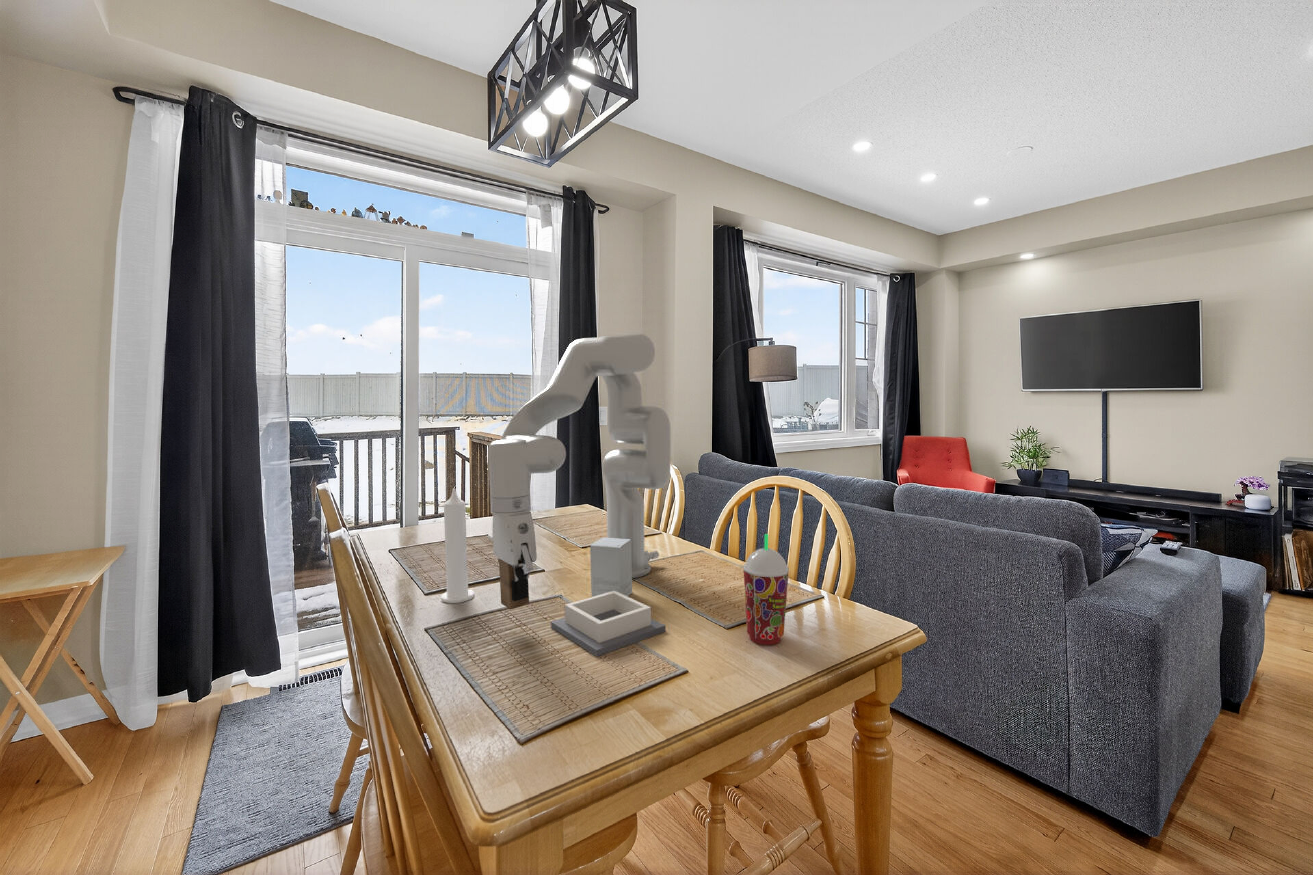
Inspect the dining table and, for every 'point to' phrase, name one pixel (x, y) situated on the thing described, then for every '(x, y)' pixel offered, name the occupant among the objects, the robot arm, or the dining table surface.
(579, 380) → the robot arm
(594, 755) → the dining table surface
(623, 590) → the supplement box
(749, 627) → the smoothie
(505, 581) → the block
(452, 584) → the candle
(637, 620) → the collar stand
